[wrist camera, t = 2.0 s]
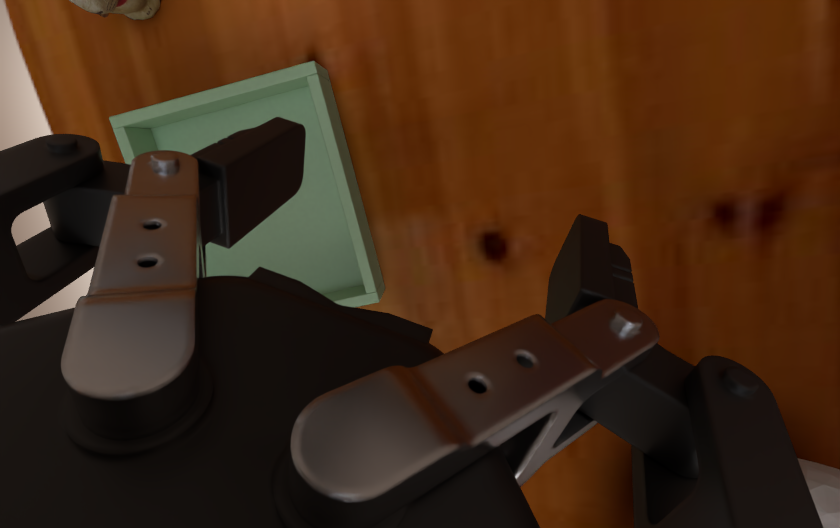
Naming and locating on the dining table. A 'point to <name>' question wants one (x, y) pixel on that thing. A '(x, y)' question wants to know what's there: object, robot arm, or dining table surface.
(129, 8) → the chocolate bunny
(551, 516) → the dining table surface
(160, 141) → the green tub
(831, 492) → the ceramic pitcher
